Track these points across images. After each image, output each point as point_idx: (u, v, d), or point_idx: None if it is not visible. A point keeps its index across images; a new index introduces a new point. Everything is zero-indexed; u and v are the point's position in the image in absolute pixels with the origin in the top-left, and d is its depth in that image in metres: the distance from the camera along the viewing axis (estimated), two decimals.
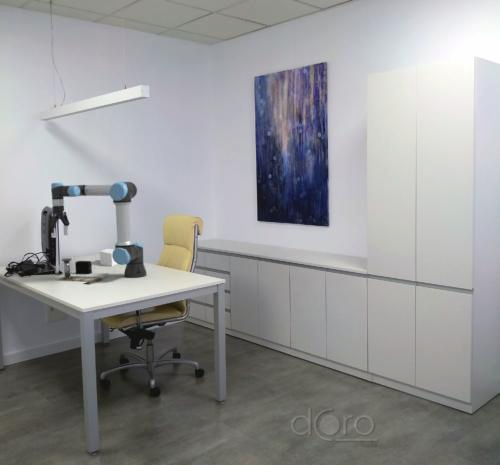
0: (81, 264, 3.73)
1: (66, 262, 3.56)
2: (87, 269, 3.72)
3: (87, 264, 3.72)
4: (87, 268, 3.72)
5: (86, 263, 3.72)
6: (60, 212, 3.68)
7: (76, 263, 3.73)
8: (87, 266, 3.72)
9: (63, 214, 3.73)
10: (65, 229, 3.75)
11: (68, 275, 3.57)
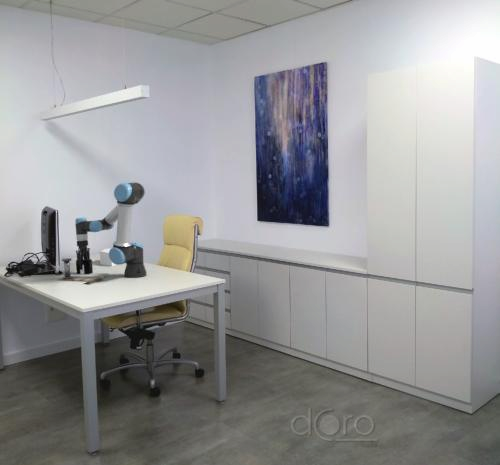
0: None
1: (66, 262, 3.56)
2: (88, 267, 3.72)
3: (88, 262, 3.71)
4: (88, 266, 3.72)
5: (87, 261, 3.71)
6: (84, 246, 3.73)
7: None
8: (88, 264, 3.71)
9: (86, 249, 3.77)
10: None
11: (68, 275, 3.57)
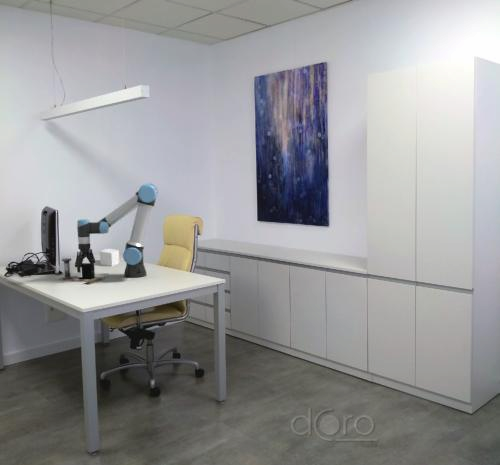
0: (84, 267, 3.52)
1: (66, 262, 3.56)
2: (90, 272, 3.52)
3: (90, 267, 3.51)
4: (90, 271, 3.51)
5: (88, 265, 3.51)
6: (86, 250, 3.53)
7: None
8: (90, 269, 3.51)
9: (89, 251, 3.58)
10: None
11: (68, 275, 3.57)
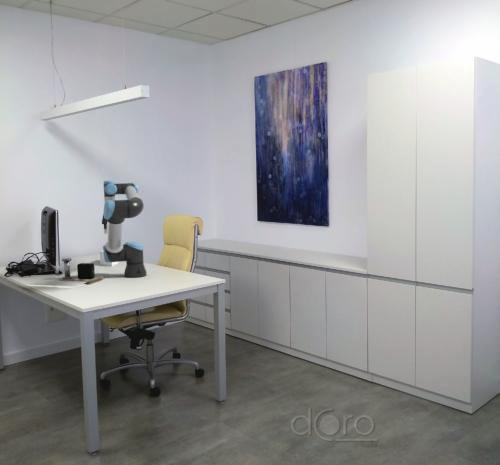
0: (84, 267, 3.52)
1: (66, 262, 3.56)
2: (90, 272, 3.52)
3: (90, 267, 3.51)
4: (90, 271, 3.51)
5: (88, 265, 3.51)
6: None
7: (78, 265, 3.53)
8: (90, 269, 3.51)
9: None
10: None
11: (68, 275, 3.57)
